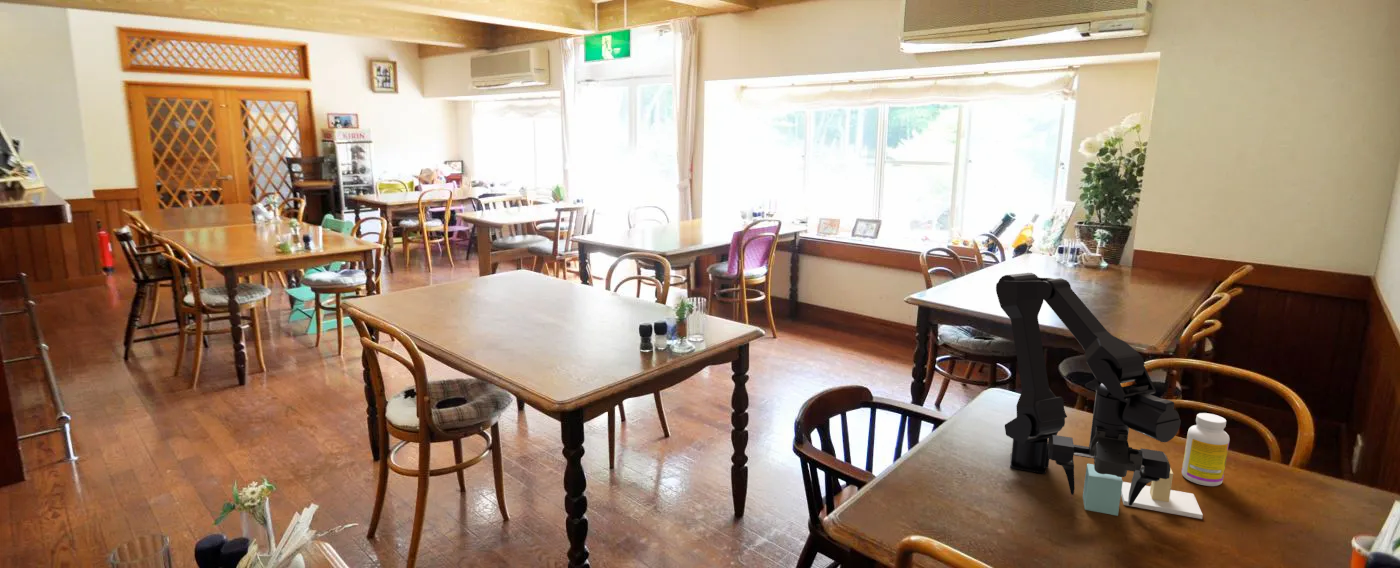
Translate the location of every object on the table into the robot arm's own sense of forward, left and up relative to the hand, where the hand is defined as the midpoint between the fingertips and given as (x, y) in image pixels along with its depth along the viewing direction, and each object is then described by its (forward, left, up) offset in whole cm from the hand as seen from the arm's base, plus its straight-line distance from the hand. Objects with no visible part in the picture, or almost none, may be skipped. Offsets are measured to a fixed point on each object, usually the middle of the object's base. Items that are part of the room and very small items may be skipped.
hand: (1100, 499), depth 131 cm
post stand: (+10, +6, -1) cm, 12 cm away
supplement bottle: (+19, +19, -2) cm, 27 cm away
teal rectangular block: (0, 0, -1) cm, 1 cm away
